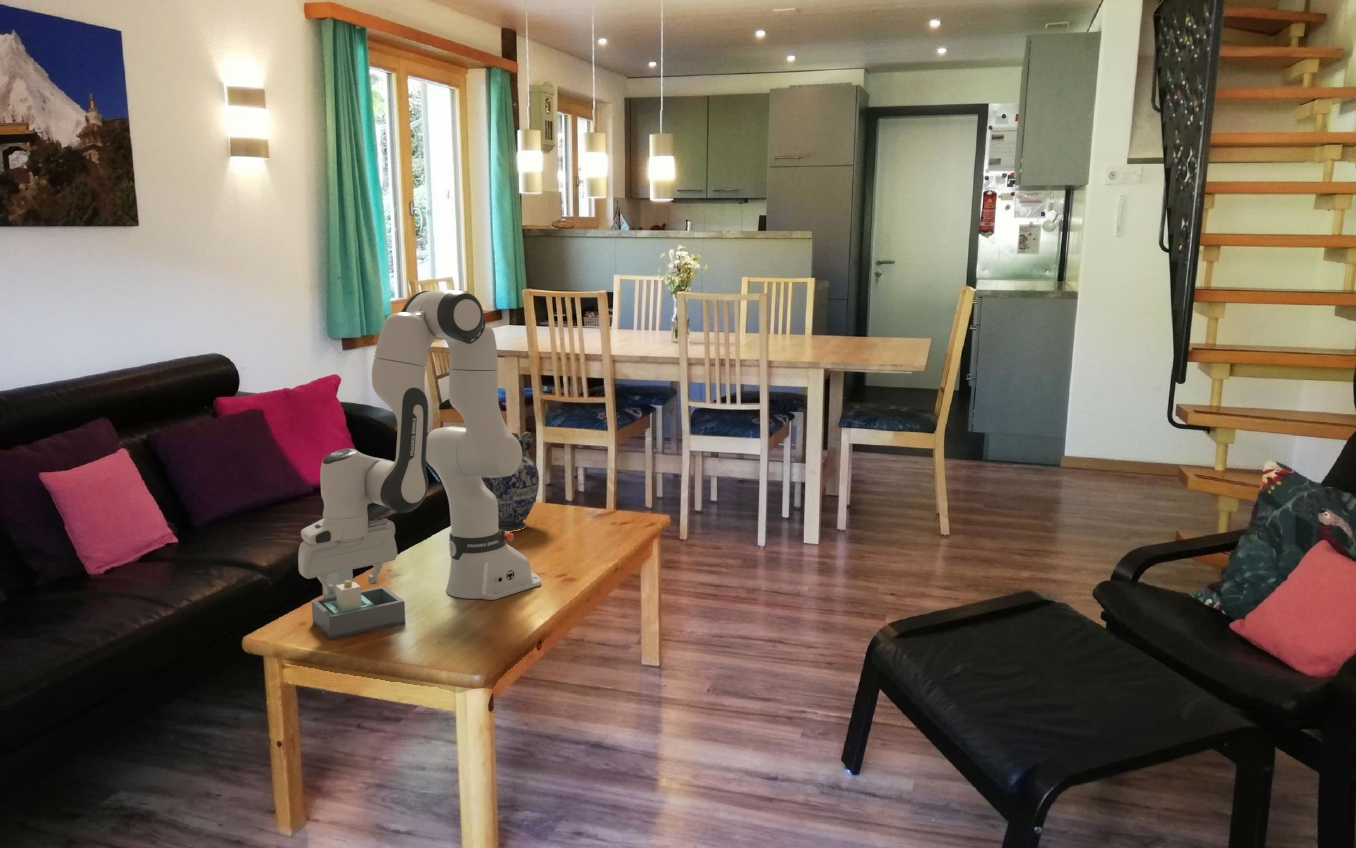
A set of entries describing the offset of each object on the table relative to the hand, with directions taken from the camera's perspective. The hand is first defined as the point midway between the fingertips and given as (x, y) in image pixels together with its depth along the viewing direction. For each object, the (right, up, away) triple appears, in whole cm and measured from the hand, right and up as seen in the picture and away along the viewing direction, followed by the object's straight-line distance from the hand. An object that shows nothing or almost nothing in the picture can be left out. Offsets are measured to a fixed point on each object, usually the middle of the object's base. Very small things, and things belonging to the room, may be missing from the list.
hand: (351, 588), depth 205 cm
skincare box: (-6, -7, +9) cm, 13 cm away
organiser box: (+1, -8, +2) cm, 8 cm away
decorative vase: (+20, +4, +77) cm, 80 cm away
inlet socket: (-1, -8, +1) cm, 8 cm away
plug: (-1, -7, +1) cm, 7 cm away
